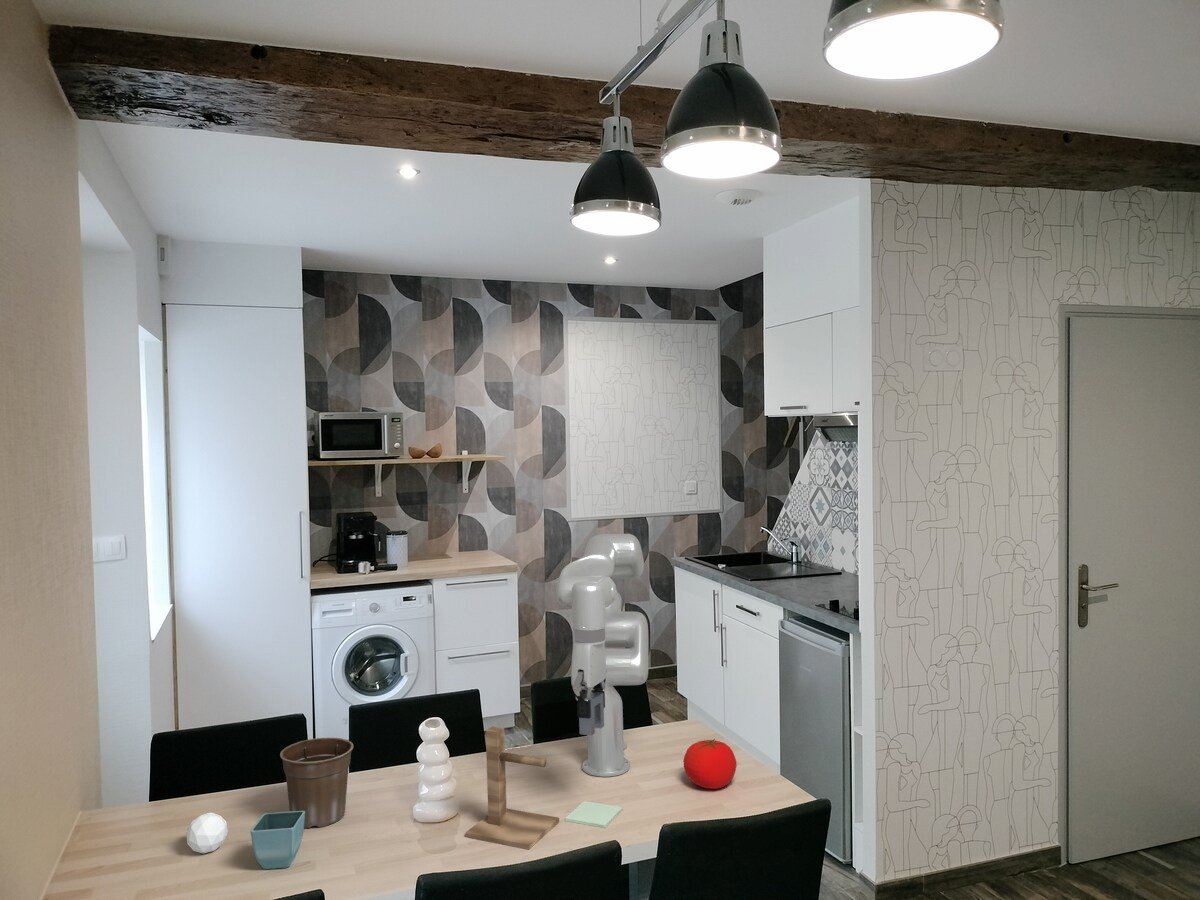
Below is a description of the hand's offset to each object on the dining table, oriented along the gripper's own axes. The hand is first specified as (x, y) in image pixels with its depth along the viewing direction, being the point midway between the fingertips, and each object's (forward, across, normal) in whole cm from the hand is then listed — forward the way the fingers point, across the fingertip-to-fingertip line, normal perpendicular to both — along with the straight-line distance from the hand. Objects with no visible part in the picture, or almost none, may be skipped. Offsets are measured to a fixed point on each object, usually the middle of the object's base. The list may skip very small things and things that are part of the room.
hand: (591, 712), depth 192 cm
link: (+4, 0, 0) cm, 4 cm away
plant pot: (+24, +24, -60) cm, 69 cm away
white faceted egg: (+24, +45, -73) cm, 89 cm away
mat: (+24, 0, 0) cm, 24 cm away
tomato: (+24, -26, +20) cm, 41 cm away
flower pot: (+24, +44, -52) cm, 72 cm away
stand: (+24, +13, -14) cm, 30 cm away
